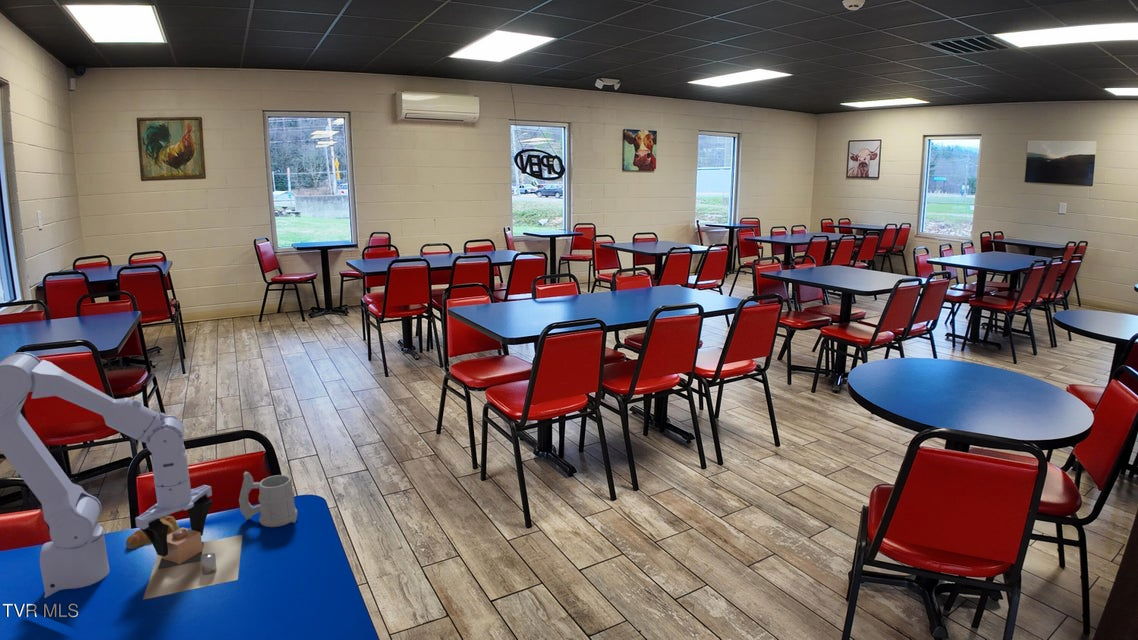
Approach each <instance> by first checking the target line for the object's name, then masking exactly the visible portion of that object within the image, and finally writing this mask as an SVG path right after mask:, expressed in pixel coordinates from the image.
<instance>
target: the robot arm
mask: <svg viewBox="0 0 1138 640" xmlns="http://www.w3.org/2000/svg"><path fill="white" fill-rule="evenodd" d="M31 392H32V394H31V399H41V398H42V399H43V398H49V397H57V398H60V399H63V400H65V401H67V402H70V403H72V404H75V405H77V406H79V407H81V408H84V409H86V410H89V411H91V412H93V413H96V414H98V415H100V416H101V417H103V419H104V423H105V426H107V427H109V428H111V429H113V430H116V431H117V432H119V433H122V434H124V435H125V436H128V437H130V438H132V439H133V440H137V442H141V443H145V446H146V448H147V450H148V451H149V452H150V453H151V457H152V460H151V465H152V466H151V467H152V474H153V480H154V481H153V482H154V488H155V489H154V490H155V494H156V495H155V496H156V501H157V503H155V504H154V505H152V506H151V507H150V508H148V509H147V510H145V512H143V513H141V514H140V515H139V516H136V517H135V519H134V520H135V526H136V528H138V529H139V530H140V529H141V530H142V531H143V532H144V533H145V534H146V536H147V537H148V538H149V539H150V541H151V543H150V544H151V545H152V546H153V548H154V550H155V552H156V555H160V556H164V557H165V556H167V555H168V545H167V532H168V527H169V525H166V524H163V523H162V521H160V519H164V518H165V517H166V516H171V515H172V514H174V513H177V512H180V511H187V515H188V517H189V522H190V530H194V531H198V532H200V533H201V537H202V536H203V535H204V530H205V525H206V520H207V517H208V514H209V512H210V509H211V507H212V505H213V500H212V499H211V498H209V497H212V495H213V491H212V486H210V485H206V484H203V485H200V486H198V487H195V488H191V479H190V473H189V466H188V465H189V464H188V455H187V453H186V447H185V444H184V441H185V439H184V438H185V437H184V436H185V426H184V423H183V421H181V420H180V419H178V418H177V417H176V416H175V415H173V414H172V415H171V414H166V413H164V412H161V413H159V412H156V411H154V410H152V409H150V408H148V407H146V406H144V405H143V404H142V402H143V401H142V400H140V399H138V398H137V397H136V398H134V399H130V398H129V397H123V398H116V399H115V398H113V397H111V396H109V395H108V394H106V393H104V392H103V391H101V390H99V389H97V388H95V387H93V386H92V385H90V384H88V383H86V382H85V381H83V380H82V379H80V378H77V377H76V376H73V375H72V374H71V373H70V374H69V373H68V372H67V371H65V370H63V369H61V368H60V367H58V366H57V365H55V364H54V363H53V362H51V361H47V360H45V359H42V360H41V359H40V358H39V357H37V356H36V355H35V354H32V353H29V352H21V351H20V352H14V353H10V354H9V355H6V356H5V357H3V359H2V360H1V361H0V452H1V453H2V454H3V456H4V457H5V458H6V459H7V461H8V462H9V464H10V465H11V466H12V467H13V468H14V470H15V471H16V472H17V474H18V475H19V476H20V478H22V480H23V481H24V483H25V484H26V486H28V488H29V489H30V491H32V493H33V494H34V495H35V497H36V498H37V500H38V501H39V502H40V504H41V508H42V514H43V520H44V522H45V523H46V524H47V526H48V527H49V536H50V537H49V538H50V539H51V541H48V542H45V543H43V545H42V547H41V550H40V554H39V566H40V567H39V568H40V572H41V578H42V584H43V588H44V589H43V590H44V595H43V597H44V599H46V598H48V597H50V596H51V595H53V594H54V593H56V592H59V591H62V590H67V589H68V590H69V589H79V588H85V587H88V586H91V585H93V584H96V583H99V582H100V581H102V580H103V579H104V578H105V577H107V576H108V575H109V574H110V565H109V564H110V563H109V559H108V552H107V546H106V541H105V540H106V539H105V534H104V528H103V526H101V525H100V524H99V522H98V518H99V517H100V515H101V513H102V504H101V501H100V499H99V498H97V497H96V496H94V495H92V494H90V493H88V492H86V491H85V489H84V488H83V487H82V486H81V485H79V484H76V483H73V481H71V480H70V478H69V477H68V476H67V474H66V473H65V472H64V470H63V469H62V467H61V466H60V465H59V463H58V462H57V461H56V459H55V458H54V456H53V455H52V453H50V451H49V450H48V448H47V447H46V446H45V444H44V443H43V442H42V440H41V439H40V437H39V436H38V435H37V433H36V432H35V431H34V429H33V428H32V427H31V426H30V425H31V424H29V423H28V421H27V419H26V418H25V417H24V416H23V414H22V413H21V410H22V408H23V406H24V404H25V402H26V399H27V398H28V394H29V393H31Z"/></svg>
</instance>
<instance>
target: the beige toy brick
mask: <svg viewBox="0 0 1138 640" xmlns="http://www.w3.org/2000/svg"><path fill="white" fill-rule="evenodd" d="M202 542H203V541H202V536H201V533H200V532H198V531H194V530H191V528H187V527H180V529H178V530H176V531H174V532H172V533H171V534H169V535H167V545H168V555H167V556H165V557H164V556H161V558H162V559H165V560H169V561H172V562H175V563H178V564H181V563H182V562H184V561H186V560H187V559H189V558H191V557H193V556H194V555H196V554H198V553H199V552H201V551H203V549H202Z"/></svg>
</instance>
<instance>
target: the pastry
mask: <svg viewBox="0 0 1138 640" xmlns="http://www.w3.org/2000/svg"><path fill="white" fill-rule="evenodd" d="M160 521H162V523H163V524H166V525H169V527H168V532H167V535H169V534H171V533H172V532H174V531H176V530H178V529H180V528H181V527H180V525H179V524H178V522H177V520H176V519H175V517H174V516H172V515H168V516H166V517H164V518H162V519H160ZM147 544H152V543H151V541H150V539H149V538H148V537H147V536H146V534H145V533H144V532H143V531H142V530H141V529H140V528H139V529H137V530H135V531H134V532H133V533H132V534H131V535H130V536H128V537H127V539H126V543H125V546H126V547H127V549H132V550H138V549H140V548H142V547H144V546H146V545H147Z"/></svg>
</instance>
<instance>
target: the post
mask: <svg viewBox="0 0 1138 640" xmlns="http://www.w3.org/2000/svg"><path fill="white" fill-rule="evenodd" d="M201 565H202V573H203V574H204V575H210V574H213V573H215V572H216V571H217V566H216V557H215V553H212V552H210V553H206V554H204V555H202V556H201Z"/></svg>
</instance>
